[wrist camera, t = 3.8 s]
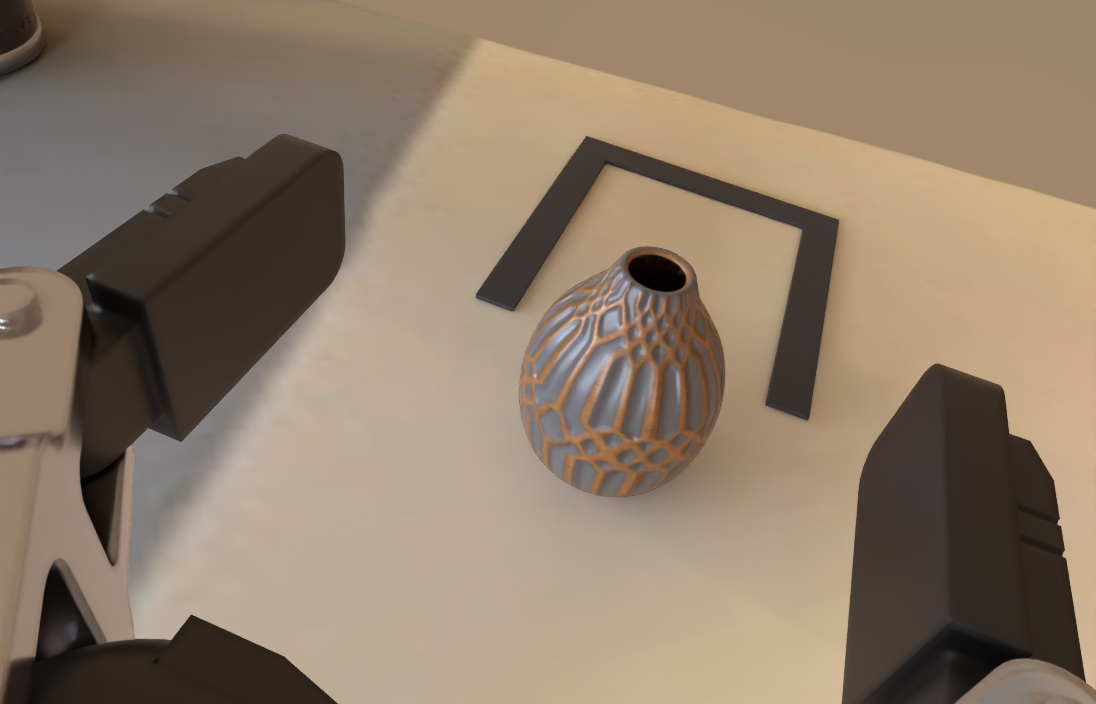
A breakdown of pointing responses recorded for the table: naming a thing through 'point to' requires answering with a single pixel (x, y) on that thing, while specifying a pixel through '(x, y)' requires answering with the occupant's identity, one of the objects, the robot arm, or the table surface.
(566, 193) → the tape u shape
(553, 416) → the vase
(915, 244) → the table surface
